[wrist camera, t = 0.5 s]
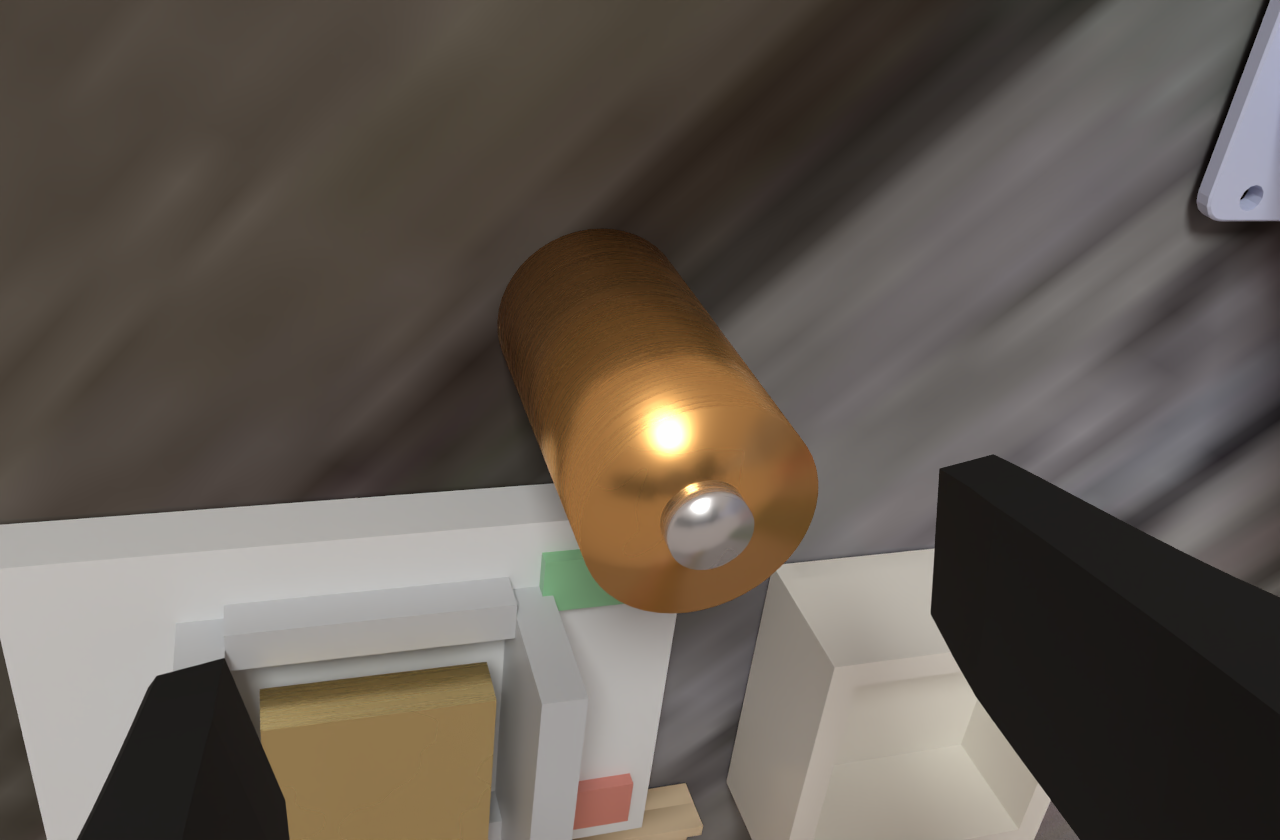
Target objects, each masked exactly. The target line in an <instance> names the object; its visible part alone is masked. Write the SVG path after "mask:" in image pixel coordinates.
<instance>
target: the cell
mask: <svg viewBox="0 0 1280 840" xmlns="http://www.w3.org/2000/svg"><path fill="white" fill-rule="evenodd" d="M498 337H499V342H500V346H501V349H502V352H503V355H504V357H505V360H506V363H507V365H508V368H509V370H510V373H511V375H512V378H513V380H514V383H515V385H516V388H517V391H518V393H519V396H520V398H521V401H522V403H523V406H524V408H525V411H526V413H527V416H528V419H529V421H530V424H531V426H532V429H533V431H534V434H535V436H536V439H537V441H538V444H539V447H540V449H541V452H542V454H543V457H544V459H545V462H546V464H547V467H548V469H549V472H550V475H551V477H552V480H553V482H554V485H555V487H556V490H557V492H558V495H559V497H560V500H561V503H562V505H563V508H564V510H565V513H566V515H567V518H568V520H569V523H570V525H571V528H572V531H573V533H574V536H575V538H576V541H577V543H578V546H579V548H580V551H581V553H582V556H583V559H584V561H585V564H586V566H587V568H588V570H589V572H590V574H591V575H592V577H593V578H594V580H595V581H596V582H597V583H598V585H599V586H600V587H601V588H602V589H603V590H605V591H606V592H607V593H608V594H609V595H611V596H612V597H614V598H615V599H617V600H618V601H620V602H622V603H624V604H626V605H628V606H631V607H634V608H637V609H640V610H644V611H650V612H656V613H687V612H693V611H699V610H703V609H707V608H711V607H714V606H717V605H720V604H723V603H725V602H728V601H731V600H733V599H735V598H737V597H739V596H741V595H743V594H745V593H746V592H748V591H750V590H751V589H753V588H755V587H756V586H758V585H759V584H760V583H762V582H763V581H765V580H766V579H767V578H769V577H770V576H771V575H772V574H773V573H774V572H775V571H777V570H778V569H779V568H780V567H781V566H782V565H783V564H784V563H785V562H786V560H787V559H788V558H789V557H790V556H791V555H792V553H793V552H794V551H795V549H796V548H797V547H798V545H799V544H800V542H801V541H802V539H803V537H804V535H805V534H806V532H807V530H808V528H809V525H810V523H811V521H812V518H813V515H814V511H815V508H816V503H817V497H818V477H817V470H816V466H815V463H814V460H813V457H812V455H811V453H810V451H809V450H808V448H807V446H806V445H805V443H804V442H803V440H802V439H801V438H800V436H799V435H798V434H797V432H796V431H795V430H794V428H793V427H792V426H791V424H790V423H789V422H788V420H787V419H786V418H785V416H784V415H783V414H782V412H781V411H780V409H779V408H778V407H777V405H776V404H775V403H774V401H773V400H772V399H771V397H770V396H769V395H768V393H767V392H766V391H765V389H764V388H763V387H762V385H761V384H760V383H759V381H758V380H757V379H756V377H755V376H754V374H753V373H752V372H751V370H750V369H749V368H748V366H747V365H746V364H745V362H744V361H743V360H742V358H741V357H740V356H739V354H738V353H737V352H736V350H735V349H734V348H733V346H732V345H731V343H730V342H729V341H728V339H727V338H726V337H725V335H724V334H723V333H722V331H721V330H720V329H719V327H718V326H717V325H716V323H715V322H714V321H713V319H712V318H711V317H710V315H709V314H708V313H707V311H706V310H705V308H704V307H703V306H702V304H701V303H700V302H699V300H698V299H697V298H696V296H695V295H694V294H693V292H692V291H691V290H690V288H689V287H688V286H687V284H686V283H685V282H684V280H683V279H682V277H681V276H680V275H679V273H678V272H677V271H676V269H675V268H674V267H673V265H672V264H671V263H670V261H669V260H668V259H667V258H666V256H665V255H664V254H663V253H662V252H661V251H660V250H659V249H658V248H657V247H655V246H654V245H653V244H651V243H650V242H648V241H647V240H645V239H643V238H641V237H639V236H637V235H634V234H631V233H628V232H625V231H620V230H614V229H588V230H583V231H578V232H574V233H571V234H568V235H565V236H562V237H560V238H558V239H556V240H554V241H552V242H550V243H548V244H547V245H545V246H543V247H542V248H540V249H539V250H538V251H536V252H535V253H534V254H533V255H531V256H530V257H529V258H528V259H527V260H526V261H525V262H524V263H523V264H522V265H521V266H520V268H519V269H518V270H517V272H516V273H515V274H514V275H513V277H512V279H511V280H510V282H509V284H508V286H507V288H506V290H505V292H504V295H503V297H502V300H501V304H500V308H499V314H498Z"/></svg>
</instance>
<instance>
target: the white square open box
mask: <svg viewBox="0 0 1280 840" xmlns="http://www.w3.org/2000/svg"><path fill="white" fill-rule="evenodd" d="M934 550H935V549H926V550H916V551H906V552H896V553H887V554H877V555H867V556H858V557H848V558H838V559H828V560H819V561H809V562H799V563H789V564H783V565H782V566H781V567H780V568H779V569H778V570H777V571H775V572H774V573H773V574H772V575H771V576H770V580H769V585H768V590H767V594H766V599H765V604H764V608H763V613H762V618H761V622H760V627H759V632H758V636H757V641H756V646H755V650H754V655H753V660H752V664H751V669H750V674H749V678H748V683H747V688H746V692H745V697H744V702H743V707H742V711H741V716H740V721H739V725H738V730H737V735H736V739H735V744H734V749H733V753H732V758H731V763H730V767H729V772H728V777H727V781H726V782H727V785H728V787H729V789H730V791H731V794H732V796H733V798H734V800H735V803H736V805H737V807H738V809H739V812H740V814H741V816H742V818H743V821H744V823H745V825H746V827H747V830H748V832H749V834H750V836H751V839H752V840H1034V838H1035V836H1036V834H1037V831H1038V829H1039V827H1040V824H1041V822H1042V820H1043V817H1044V815H1045V813H1046V810H1047V808H1048V806H1049V803H1050V801H1051V800H1050V798H1049V797H1048V795H1047V794H1046V793H1045V791H1044V790H1043V789H1042V787H1041V786H1040V785H1039V783H1038V782H1037V781H1036V779H1035V778H1034V776H1033V775H1032V774H1031V772H1030V771H1029V770H1028V768H1027V767H1026V766H1025V764H1024V763H1023V762H1022V760H1021V759H1020V757H1019V756H1018V755H1017V753H1016V752H1015V751H1014V749H1013V748H1012V746H1011V745H1010V744H1009V742H1008V741H1007V740H1006V738H1005V737H1004V735H1003V734H1002V733H1001V731H1000V730H999V729H998V727H997V726H996V724H995V723H994V722H993V720H992V719H991V717H990V716H989V715H988V713H987V712H986V710H985V709H984V708H983V706H982V705H981V703H980V702H979V700H978V699H977V698H976V696H975V694H974V693H973V691H972V689H971V687H970V686H969V684H968V682H967V680H966V679H965V677H964V675H963V673H962V672H961V670H960V668H959V666H958V665H957V663H956V661H955V659H954V657H953V656H952V654H951V652H950V650H949V648H948V646H947V644H946V642H945V640H944V639H943V637H942V635H941V633H940V631H939V629H938V627H937V625H936V623H935V622H934V620H933V618H932V616H931V614H930V613H931V597H932V582H933V566H934Z"/></svg>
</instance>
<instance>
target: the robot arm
mask: <svg viewBox="0 0 1280 840" xmlns="http://www.w3.org/2000/svg"><path fill="white" fill-rule="evenodd" d="M1247 189H1248V192H1247V193H1246V195H1245V197H1244V198H1243V199H1241V197H1242V195H1243V194H1244V192H1245V191H1246V190H1247ZM1240 199H1241V200H1240ZM1197 207H1198V209H1199V211H1200V212H1201V213H1202V214H1204V215H1205V216H1207V217H1209V218H1211V219H1213V220H1216V221H1280V0H1270V2H1269V5H1268V7H1267V10H1266V13H1265V15H1264V18H1263V21H1262V23H1261V26H1260V29H1259V31H1258V34H1257V37H1256V39H1255V42H1254V45H1253V47H1252V50H1251V53H1250V55H1249V58H1248V61H1247V63H1246V66H1245V69H1244V71H1243V74H1242V77H1241V79H1240V82H1239V85H1238V87H1237V90H1236V93H1235V95H1234V98H1233V101H1232V103H1231V106H1230V109H1229V111H1228V114H1227V117H1226V119H1225V122H1224V125H1223V127H1222V130H1221V133H1220V135H1219V138H1218V141H1217V143H1216V146H1215V149H1214V151H1213V154H1212V157H1211V159H1210V162H1209V165H1208V167H1207V170H1206V173H1205V175H1204V178H1203V181H1202V183H1201V186H1200V189H1199V191H1198V196H1197ZM930 614H931V616H932V618H933V620H934V622H935V623H936V625H937V627H938V629H939V631H940V633H941V635H942V637H943V639H944V640H945V642H946V644H947V646H948V648H949V650H950V652H951V654H952V656H953V657H954V659H955V661H956V663H957V665H958V666H959V668H960V670H961V672H962V673H963V675H964V677H965V679H966V680H967V682H968V684H969V686H970V687H971V689H972V691H973V693H974V694H975V696H976V698H977V699H978V700H979V702H980V703H981V705H982V706H983V708H984V709H985V710H986V712H987V713H988V715H989V716H990V717H991V719H992V720H993V722H994V723H995V724H996V726H997V727H998V729H999V730H1000V731H1001V733H1002V734H1003V735H1004V737H1005V738H1006V740H1007V741H1008V742H1009V744H1010V745H1011V746H1012V748H1013V749H1014V751H1015V752H1016V753H1017V755H1018V756H1019V757H1020V759H1021V760H1022V762H1023V763H1024V764H1025V766H1026V767H1027V768H1028V770H1029V771H1030V772H1031V774H1032V775H1033V776H1034V778H1035V779H1036V781H1037V782H1038V783H1039V785H1040V786H1041V787H1042V789H1043V790H1044V791H1045V793H1046V794H1047V795H1048V797H1049V798H1050V800H1051V801H1052V802H1053V804H1054V805H1055V806H1056V808H1057V809H1058V810H1059V812H1060V813H1061V814H1062V816H1063V817H1064V819H1065V820H1066V821H1067V823H1068V824H1069V825H1070V827H1071V828H1072V829H1073V831H1074V832H1075V833H1076V835H1077V836H1078V837H1079V839H1080V840H1280V597H1278V596H1275V595H1273V594H1271V593H1269V592H1267V591H1264V590H1262V589H1260V588H1258V587H1255V586H1253V585H1251V584H1249V583H1246V582H1244V581H1242V580H1240V579H1238V578H1236V577H1233V576H1231V575H1229V574H1227V573H1225V572H1223V571H1221V570H1219V569H1217V568H1215V567H1212V566H1210V565H1208V564H1206V563H1204V562H1202V561H1200V560H1198V559H1196V558H1194V557H1192V556H1190V555H1188V554H1186V553H1184V552H1182V551H1180V550H1178V549H1176V548H1174V547H1172V546H1170V545H1168V544H1166V543H1164V542H1162V541H1160V540H1158V539H1156V538H1154V537H1152V536H1150V535H1148V534H1146V533H1144V532H1142V531H1140V530H1139V529H1137V528H1135V527H1133V526H1131V525H1129V524H1127V523H1125V522H1123V521H1121V520H1119V519H1117V518H1115V517H1114V516H1112V515H1110V514H1108V513H1106V512H1104V511H1102V510H1100V509H1098V508H1097V507H1095V506H1093V505H1091V504H1089V503H1087V502H1085V501H1083V500H1081V499H1080V498H1078V497H1076V496H1074V495H1072V494H1070V493H1068V492H1066V491H1064V490H1063V489H1061V488H1059V487H1057V486H1055V485H1053V484H1051V483H1049V482H1047V481H1045V480H1044V479H1042V478H1040V477H1038V476H1036V475H1034V474H1032V473H1030V472H1028V471H1026V470H1024V469H1022V468H1020V467H1018V466H1016V465H1014V464H1012V463H1010V462H1008V461H1006V460H1004V459H1002V458H1000V457H998V456H996V455H989V456H986V457H982V458H978V459H974V460H971V461H967V462H963V463H959V464H955V465H952V466H948V467H944V468H940V471H939V487H938V503H937V518H936V534H935V550H934V566H933V582H932V597H931V613H930ZM77 840H290V837H289V828H288V819H287V810H286V801H285V798H284V796H283V793H282V791H281V789H280V786H279V784H278V782H277V779H276V777H275V775H274V772H273V770H272V768H271V765H270V763H269V761H268V758H267V756H266V754H265V751H264V749H263V747H262V744H261V742H260V740H259V737H258V735H257V733H256V730H255V728H254V726H253V723H252V721H251V719H250V716H249V714H248V712H247V709H246V707H245V705H244V702H243V700H242V698H241V695H240V693H239V690H238V688H237V686H236V683H235V681H234V679H233V676H232V674H231V672H230V669H229V667H228V665H227V662H226V660H225V658H222V659H218V660H215V661H211V662H207V663H203V664H199V665H196V666H192V667H188V668H184V669H180V670H177V671H173V672H169V673H165V674H162V675H158V676H156V677H155V679H154V680H153V681H152V683H151V684H150V686H149V687H148V689H147V691H146V693H145V696H144V698H143V700H142V702H141V705H140V707H139V709H138V711H137V714H136V716H135V718H134V720H133V723H132V725H131V727H130V729H129V731H128V734H127V736H126V738H125V740H124V743H123V745H122V747H121V749H120V751H119V753H118V756H117V758H116V760H115V762H114V764H113V766H112V769H111V771H110V773H109V775H108V777H107V779H106V781H105V783H104V785H103V787H102V790H101V792H100V794H99V796H98V798H97V800H96V802H95V804H94V806H93V808H92V810H91V812H90V814H89V816H88V818H87V820H86V822H85V824H84V826H83V828H82V830H81V832H80V834H79V836H78V838H77Z"/></svg>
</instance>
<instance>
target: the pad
mask: <svg viewBox="0 0 1280 840" xmlns="http://www.w3.org/2000/svg"><path fill="white" fill-rule="evenodd" d="M496 703H497V700H496V696H495V692H494V688H493V684H492V680H491V676H490V672H489V668H488V665H487V662H481V663H472V664H464V665H456V666H447V667H439V668H431V669H422V670H414V671H406V672H397V673H389V674H381V675H372V676H364V677H356V678H347V679H339V680H331V681H323V682H314V683H306V684H298V685H289V686H281V687H273V688H264V689H260V733H261V744H262V747H263V749H264V751H265V754H266V756H267V758H268V761H269V763H270V765H271V768H272V770H273V772H274V775H275V777H276V779H277V782H278V784H279V786H280V789H281V791H282V793H283V796H284V798H285V801H286V810H287V819H288V828H289V837H290V840H488V831H489V815H490V799H491V783H492V767H493V751H494V735H495V719H496Z"/></svg>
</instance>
